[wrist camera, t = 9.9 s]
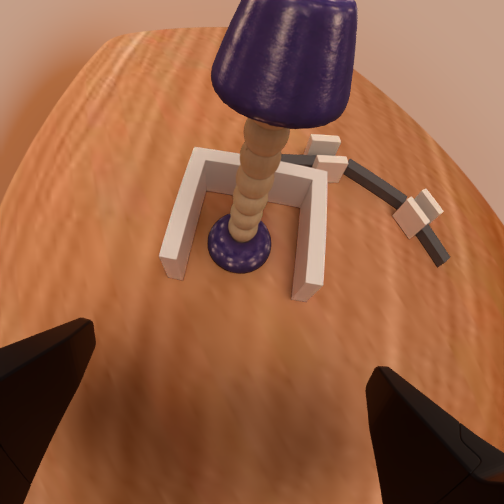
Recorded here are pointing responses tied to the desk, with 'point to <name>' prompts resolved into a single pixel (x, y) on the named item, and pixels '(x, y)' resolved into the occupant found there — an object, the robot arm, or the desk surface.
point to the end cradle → (282, 192)
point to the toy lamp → (276, 102)
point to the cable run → (386, 194)
